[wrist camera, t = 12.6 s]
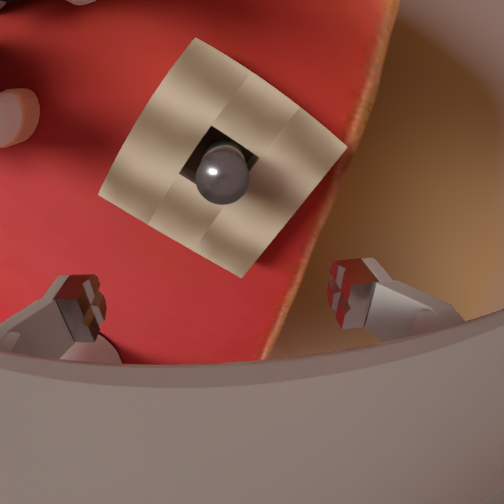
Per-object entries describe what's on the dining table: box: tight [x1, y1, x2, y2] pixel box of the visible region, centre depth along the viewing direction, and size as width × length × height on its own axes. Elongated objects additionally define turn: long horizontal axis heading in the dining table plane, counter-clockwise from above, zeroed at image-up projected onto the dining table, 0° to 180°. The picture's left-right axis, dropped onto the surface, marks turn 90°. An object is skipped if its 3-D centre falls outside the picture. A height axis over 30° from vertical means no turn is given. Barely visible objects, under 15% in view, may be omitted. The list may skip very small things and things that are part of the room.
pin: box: [196, 138, 250, 205], centre depth 26 cm, size 4×4×10 cm
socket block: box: [98, 37, 347, 278], centre depth 29 cm, size 18×18×5 cm
